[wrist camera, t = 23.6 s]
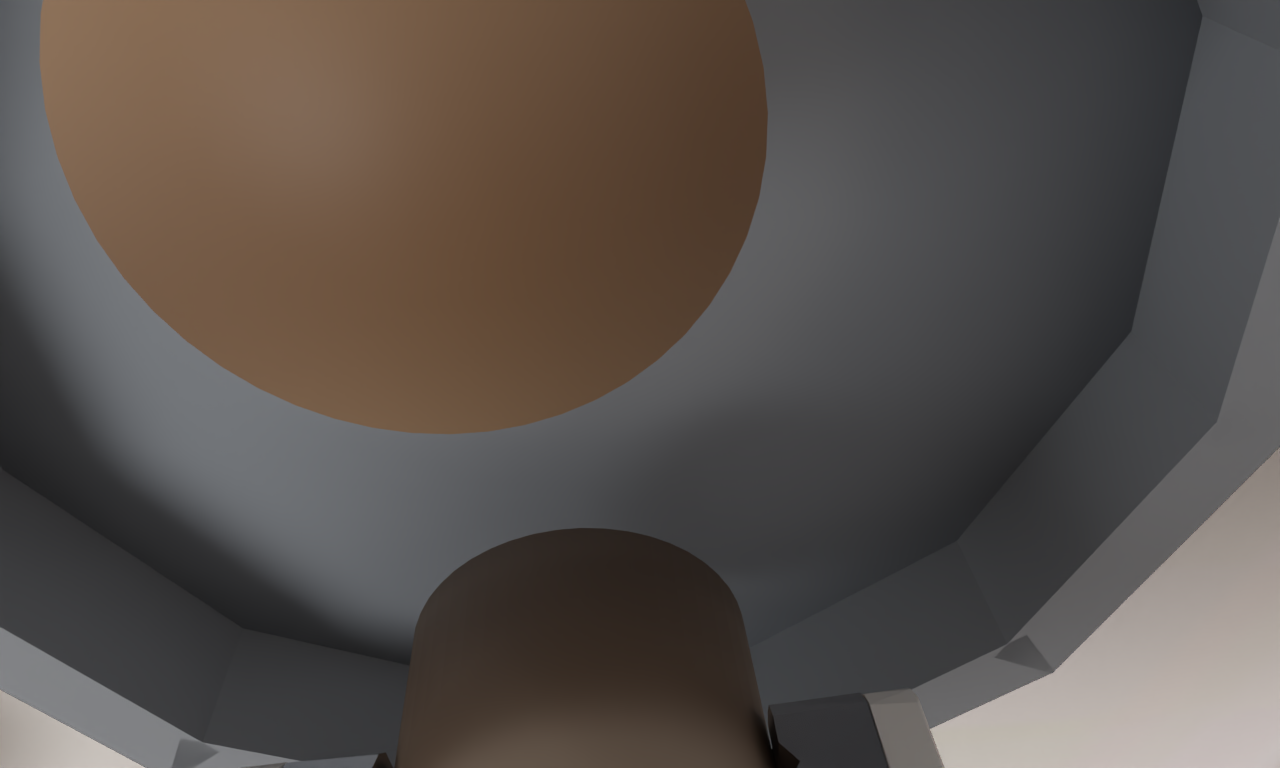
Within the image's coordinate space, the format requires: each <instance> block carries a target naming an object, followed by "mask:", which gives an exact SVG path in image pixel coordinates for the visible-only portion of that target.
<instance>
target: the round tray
mask: <svg viewBox="0 0 1280 768" xmlns="http://www.w3.org/2000/svg"><path fill="white" fill-rule="evenodd" d="M745 1H746V4H747V7H748V9H749V12H750V15H751V17H752V20H753V24H754V28H755V32H756V37H757V41H758V45H759V50H760V54H761V58H762V63H763V67H764V77H765V87H766V98H767V108H768V124H767V150H766V161H765V167H764V172H763V178H762V184H761V190H760V195H759V200H758V203H757V206H756V209H755V212H754V216H753V219H752V222H751V225H750V228H749V232H748V235H747V238H746V240H745V242H744V244H743V246H742V248H741V250H740V253H739V255H738V257H737V259H736V261H735V263H734V266H733V268H732V270H731V272H730V274H729V275H728V277H727V278H726V280H725V282H724V283H723V285H722V286H721V288H720V289H719V291H718V293H717V294H716V296H715V297H714V299H713V300H712V302H711V304H710V305H709V306H708V308H707V309H706V310H705V311H704V312H703V314H702V315H701V316H700V317H699V318H698V320H697V321H696V322H695V323H694V324H693V326H692V327H691V328H690V329H689V330H688V332H687V333H686V334H685V335H684V336H683V337H682V338H681V339H680V340H679V341H678V342H677V343H676V344H674V345H673V346H672V347H671V348H670V349H669V350H668V351H667V352H666V353H665V354H664V355H663V356H662V357H661V358H660V359H658V360H657V361H656V362H654V363H653V364H652V365H650V366H649V367H648V368H646V369H645V370H644V371H642V372H641V373H639V374H638V375H637V376H635V377H634V378H633V379H631V380H630V381H628V382H627V383H625V384H623V385H622V386H620V387H618V388H616V389H614V390H613V391H611V392H609V393H607V394H605V395H604V396H602V397H600V398H598V399H597V400H595V401H592V402H590V403H587V404H585V405H583V406H580V407H578V408H575V409H573V410H571V411H568V412H566V413H564V414H561V415H558V416H554V417H551V418H547V419H544V420H541V421H537V422H534V423H530V424H527V425H522V426H517V427H511V428H506V429H500V430H495V431H489V432H476V433H462V434H424V433H407V432H400V431H392V430H385V429H377V428H371V427H367V426H363V425H359V424H354V423H350V422H346V421H342V420H337V419H333V418H331V417H328V416H325V415H322V414H319V413H316V412H313V411H310V410H307V409H304V408H302V407H299V406H296V405H294V404H291V403H289V402H287V401H285V400H283V399H280V398H278V397H276V396H274V395H272V394H270V393H267V392H265V391H263V390H261V389H259V388H257V387H255V386H253V385H252V384H250V383H248V382H247V381H245V380H243V379H241V378H240V377H238V376H236V375H235V374H233V373H231V372H230V371H228V370H226V369H224V368H223V367H221V366H220V365H218V364H217V363H216V362H214V361H213V360H211V359H210V358H209V357H207V356H206V355H205V354H203V353H202V352H201V351H199V350H198V349H196V348H195V347H194V346H192V345H191V344H190V343H188V342H187V341H186V340H185V339H183V338H182V337H181V336H180V335H179V334H178V333H177V332H176V331H175V330H173V329H172V328H171V327H170V326H169V325H168V324H167V323H166V322H165V321H164V320H162V319H161V318H160V317H159V316H158V315H157V314H156V313H155V312H154V311H153V310H152V309H151V308H150V307H149V306H148V305H147V304H146V302H145V301H144V300H143V299H142V298H141V297H140V296H139V295H138V293H137V292H136V291H135V290H134V289H133V288H132V287H131V286H130V285H129V283H128V282H127V281H126V280H125V279H124V278H123V276H122V275H121V274H120V272H119V271H118V269H117V268H116V267H115V265H114V264H113V262H112V261H111V260H110V258H109V257H108V255H107V254H106V253H105V251H104V250H103V248H102V247H101V245H100V244H99V243H98V241H97V240H96V238H95V236H94V234H93V232H92V231H91V229H90V227H89V225H88V223H87V221H86V220H85V218H84V216H83V214H82V212H81V211H80V209H79V207H78V205H77V203H76V201H75V200H74V197H73V195H72V192H71V190H70V187H69V185H68V182H67V180H66V177H65V175H64V172H63V170H62V167H61V165H60V162H59V160H58V157H57V154H56V150H55V146H54V142H53V138H52V135H51V131H50V127H49V123H48V119H47V115H46V111H45V105H44V96H43V88H42V79H41V71H40V62H39V60H40V22H41V9H42V3H43V0H0V690H2V691H4V692H5V693H7V694H9V695H11V696H13V697H15V698H17V699H19V700H20V701H22V702H24V703H26V704H28V705H30V706H32V707H33V708H35V709H37V710H39V711H41V712H43V713H45V714H47V715H48V716H50V717H52V718H54V719H56V720H58V721H60V722H61V723H63V724H65V725H67V726H69V727H71V728H73V729H75V730H76V731H78V732H80V733H82V734H84V735H86V736H88V737H90V738H91V739H93V740H95V741H97V742H99V743H101V744H103V745H104V746H106V747H108V748H110V749H112V750H114V751H116V752H118V753H119V754H121V755H123V756H125V757H127V758H129V759H131V760H132V761H134V762H136V763H138V764H140V765H142V766H144V767H146V768H243V767H251V766H259V765H267V764H276V763H284V762H298V761H308V760H317V759H327V758H337V757H346V756H356V755H365V754H375V753H384V752H386V754H387V756H388V758H389V760H390V762H391V764H392V766H393V768H394V766H395V760H396V753H397V746H398V740H399V733H400V726H401V720H402V713H403V706H404V700H405V693H406V686H407V680H408V673H409V666H410V660H411V653H412V646H413V640H414V633H415V627H416V624H417V621H418V619H419V616H420V613H421V611H422V609H423V607H424V606H425V604H426V602H427V600H428V599H429V597H430V596H431V595H432V593H433V592H434V591H435V590H436V588H437V587H438V586H439V585H440V584H441V583H442V582H443V581H444V580H445V579H446V578H447V577H448V576H449V575H450V574H451V573H452V572H454V571H455V570H456V569H458V568H459V567H460V566H462V565H463V564H465V563H466V562H467V561H469V560H470V559H472V558H474V557H476V556H478V555H479V554H481V553H483V552H485V551H487V550H489V549H491V548H493V547H496V546H498V545H501V544H503V543H506V542H508V541H511V540H514V539H518V538H521V537H525V536H528V535H532V534H536V533H542V532H548V531H553V530H561V529H574V528H605V529H614V530H622V531H629V532H634V533H638V534H642V535H647V536H651V537H654V538H657V539H659V540H662V541H665V542H668V543H671V544H673V545H675V546H677V547H679V548H681V549H683V550H685V551H688V552H689V553H691V554H692V555H694V556H695V557H697V558H699V559H700V560H702V561H703V562H705V563H706V564H707V565H708V566H709V567H710V568H712V569H713V570H714V571H715V572H716V573H717V574H718V575H719V576H720V577H721V578H722V579H723V581H724V582H725V583H726V584H727V585H728V587H729V588H730V590H731V591H732V593H733V595H734V597H735V598H736V600H737V602H738V605H739V608H740V611H741V613H742V617H743V621H744V626H745V630H746V635H747V640H748V644H749V649H750V653H751V658H752V662H753V667H754V671H755V676H756V681H757V685H758V690H759V694H760V699H761V703H762V708H763V712H764V717H765V721H766V726H767V731H768V735H769V740H770V744H771V739H770V734H769V729H768V707H769V705H773V704H780V703H788V702H795V701H802V700H810V699H817V698H824V697H832V696H839V695H846V694H854V693H860V694H867V693H874V692H881V691H888V690H895V689H902V688H910V689H911V690H912V691H913V692H914V693H915V694H916V696H917V697H918V698H919V701H920V704H921V706H922V709H923V712H924V715H925V717H926V720H927V723H928V725H929V728H930V729H931V728H933V727H935V726H937V725H939V724H941V723H944V722H946V721H948V720H950V719H952V718H955V717H957V716H959V715H961V714H963V713H965V712H968V711H970V710H972V709H974V708H976V707H979V706H981V705H983V704H985V703H987V702H989V701H992V700H994V699H996V698H998V697H1000V696H1003V695H1005V694H1007V693H1009V692H1011V691H1014V690H1016V689H1018V688H1020V687H1022V686H1024V685H1027V684H1029V683H1031V682H1033V681H1035V680H1038V679H1040V678H1042V677H1044V676H1046V675H1048V674H1051V673H1053V672H1054V671H1055V670H1056V669H1057V668H1058V667H1059V666H1060V665H1061V664H1062V663H1063V662H1064V661H1065V660H1066V659H1067V658H1068V657H1069V656H1070V655H1071V654H1072V653H1073V652H1074V651H1075V650H1076V649H1077V648H1078V647H1079V646H1080V645H1081V644H1082V643H1083V642H1084V641H1085V640H1086V639H1087V638H1088V637H1089V636H1090V635H1091V634H1092V633H1093V632H1094V631H1095V630H1096V629H1097V628H1098V627H1099V626H1100V625H1101V624H1102V623H1103V622H1104V621H1105V620H1106V619H1107V618H1108V617H1109V616H1110V615H1111V614H1112V613H1113V612H1114V611H1115V610H1116V609H1117V608H1118V607H1119V606H1120V605H1121V604H1122V603H1123V602H1124V601H1125V600H1126V599H1127V598H1128V597H1129V596H1130V595H1131V594H1132V593H1133V592H1134V591H1135V590H1136V589H1137V588H1138V587H1139V586H1140V585H1141V584H1142V583H1143V582H1144V581H1145V580H1146V579H1147V578H1148V577H1149V576H1150V575H1151V574H1152V573H1153V572H1154V571H1155V570H1156V569H1157V568H1158V567H1159V566H1160V565H1161V564H1162V563H1163V562H1164V561H1165V560H1166V559H1167V558H1168V557H1169V556H1171V555H1172V554H1173V553H1174V552H1175V551H1176V550H1177V549H1178V548H1179V547H1180V546H1181V545H1182V544H1183V543H1184V542H1185V541H1186V540H1187V539H1188V538H1189V537H1190V536H1191V535H1192V534H1193V533H1194V532H1195V531H1196V530H1197V529H1198V528H1199V527H1200V526H1201V525H1202V524H1203V523H1204V522H1205V521H1206V520H1207V519H1208V518H1209V517H1210V516H1211V515H1212V514H1213V513H1214V512H1215V511H1216V510H1217V509H1218V508H1219V507H1220V506H1221V505H1222V504H1223V503H1224V502H1225V501H1226V500H1227V499H1228V498H1229V497H1230V496H1231V495H1232V494H1233V493H1234V492H1235V491H1236V490H1237V489H1238V488H1239V487H1240V486H1241V485H1242V484H1243V483H1244V482H1245V481H1246V480H1247V479H1248V478H1249V477H1250V476H1251V475H1252V474H1253V473H1254V472H1255V471H1256V470H1257V469H1258V468H1259V467H1260V466H1261V465H1262V464H1263V463H1264V462H1265V461H1266V460H1267V459H1268V458H1269V457H1270V456H1271V455H1272V454H1273V453H1274V452H1275V451H1276V450H1277V449H1278V448H1279V447H1280V0H745ZM771 749H772V744H771Z"/></svg>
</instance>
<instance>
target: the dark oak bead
mask: <svg viewBox="0 0 1280 768" xmlns="http://www.w3.org/2000/svg"><path fill="white" fill-rule="evenodd" d="M394 768H776V767H775V762H774V758H773V753H772V749H771V744H770V740H769V735H768V731H767V726H766V721H765V717H764V712H763V708H762V703H761V699H760V694H759V690H758V685H757V681H756V676H755V671H754V667H753V662H752V658H751V653H750V649H749V644H748V640H747V635H746V630H745V626H744V621H743V617H742V613H741V611H740V608H739V605H738V602H737V600H736V598H735V597H734V595H733V593H732V591H731V590H730V588H729V587H728V585H727V584H726V583H725V582H724V581H723V579H722V578H721V577H720V576H719V575H718V574H717V573H716V572H715V571H714V570H713V569H712V568H710V567H709V566H708V565H707V564H706V563H705V562H703V561H702V560H700V559H699V558H697V557H695V556H694V555H692V554H691V553H689V552H688V551H685V550H683V549H681V548H679V547H677V546H675V545H673V544H671V543H668V542H665V541H662V540H659V539H657V538H654V537H651V536H647V535H642V534H638V533H634V532H629V531H622V530H614V529H605V528H574V529H561V530H553V531H548V532H542V533H536V534H532V535H528V536H525V537H521V538H518V539H514V540H511V541H508V542H506V543H503V544H501V545H498V546H496V547H493V548H491V549H489V550H487V551H485V552H483V553H481V554H479V555H478V556H476V557H474V558H472V559H470V560H469V561H467V562H466V563H465V564H463V565H462V566H460V567H459V568H458V569H456V570H455V571H454V572H452V573H451V574H450V575H449V576H448V577H447V578H446V579H445V580H444V581H443V582H442V583H441V584H440V585H439V586H438V587H437V588H436V590H435V591H434V592H433V593H432V595H431V596H430V597H429V599H428V600H427V602H426V604H425V606H424V607H423V609H422V611H421V613H420V616H419V619H418V621H417V624H416V627H415V633H414V640H413V646H412V653H411V660H410V666H409V673H408V680H407V686H406V693H405V700H404V706H403V713H402V720H401V726H400V733H399V740H398V746H397V753H396V760H395V766H394Z"/></svg>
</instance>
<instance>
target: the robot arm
mask: <svg viewBox="0 0 1280 768" xmlns="http://www.w3.org/2000/svg"><path fill="white" fill-rule="evenodd" d="M768 729H769V734H770V739H771V744H772V753H773V758H774V762H775V767H776V768H944V765H943V763H942V760H941V757H940V755H939V752H938V749H937V747H936V744H935V741H934V739H933V736H932V733H931V731H930V728H929V725H928V723H927V720H926V717H925V715H924V712H923V709H922V706H921V704H920V701H919V698H918V697H917V696H916V694H915V693H914V692H913V691H912V690H911V689H910V688H902V689H895V690H888V691H881V692H874V693H867V694H860V693H854V694H846V695H839V696H832V697H824V698H817V699H810V700H802V701H795V702H788V703H780V704H773V705H769V707H768ZM243 768H393V766H392V764H391V762H390V760H389V758H388V756H387V754H386V752H384V753H375V754H365V755H356V756H346V757H337V758H327V759H317V760H308V761H298V762H284V763H276V764H267V765H259V766H251V767H243Z"/></svg>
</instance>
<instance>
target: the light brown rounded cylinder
mask: <svg viewBox="0 0 1280 768" xmlns="http://www.w3.org/2000/svg"><path fill="white" fill-rule="evenodd" d="M39 62H40V71H41V79H42V88H43V96H44V105H45V111H46V115H47V119H48V123H49V127H50V131H51V135H52V138H53V142H54V146H55V150H56V154H57V157H58V160H59V162H60V165H61V167H62V170H63V172H64V175H65V177H66V180H67V182H68V185H69V187H70V190H71V192H72V195H73V197H74V200H75V201H76V203H77V205H78V207H79V209H80V211H81V212H82V214H83V216H84V218H85V220H86V221H87V223H88V225H89V227H90V229H91V231H92V232H93V234H94V236H95V238H96V240H97V241H98V243H99V244H100V245H101V247H102V248H103V250H104V251H105V253H106V254H107V255H108V257H109V258H110V260H111V261H112V262H113V264H114V265H115V267H116V268H117V269H118V271H119V272H120V274H121V275H122V276H123V278H124V279H125V280H126V281H127V282H128V283H129V285H130V286H131V287H132V288H133V289H134V290H135V291H136V292H137V293H138V295H139V296H140V297H141V298H142V299H143V300H144V301H145V302H146V304H147V305H148V306H149V307H150V308H151V309H152V310H153V311H154V312H155V313H156V314H157V315H158V316H159V317H160V318H161V319H162V320H164V321H165V322H166V323H167V324H168V325H169V326H170V327H171V328H172V329H173V330H175V331H176V332H177V333H178V334H179V335H180V336H181V337H182V338H183V339H185V340H186V341H187V342H188V343H190V344H191V345H192V346H194V347H195V348H196V349H198V350H199V351H201V352H202V353H203V354H205V355H206V356H207V357H209V358H210V359H211V360H213V361H214V362H216V363H217V364H218V365H220V366H221V367H223V368H224V369H226V370H228V371H230V372H231V373H233V374H235V375H236V376H238V377H240V378H241V379H243V380H245V381H247V382H248V383H250V384H252V385H253V386H255V387H257V388H259V389H261V390H263V391H265V392H267V393H270V394H272V395H274V396H276V397H278V398H280V399H283V400H285V401H287V402H289V403H291V404H294V405H296V406H299V407H302V408H304V409H307V410H310V411H313V412H316V413H319V414H322V415H325V416H328V417H331V418H333V419H337V420H342V421H346V422H350V423H354V424H359V425H363V426H367V427H371V428H377V429H385V430H392V431H400V432H407V433H424V434H462V433H476V432H489V431H495V430H500V429H506V428H511V427H517V426H522V425H527V424H530V423H534V422H537V421H541V420H544V419H547V418H551V417H554V416H558V415H561V414H564V413H566V412H568V411H571V410H573V409H575V408H578V407H580V406H583V405H585V404H587V403H590V402H592V401H595V400H597V399H598V398H600V397H602V396H604V395H605V394H607V393H609V392H611V391H613V390H614V389H616V388H618V387H620V386H622V385H623V384H625V383H627V382H628V381H630V380H631V379H633V378H634V377H635V376H637V375H638V374H639V373H641V372H642V371H644V370H645V369H646V368H648V367H649V366H650V365H652V364H653V363H654V362H656V361H657V360H658V359H660V358H661V357H662V356H663V355H664V354H665V353H666V352H667V351H668V350H669V349H670V348H671V347H672V346H673V345H674V344H676V343H677V342H678V341H679V340H680V339H681V338H682V337H683V336H684V335H685V334H686V333H687V332H688V330H689V329H690V328H691V327H692V326H693V324H694V323H695V322H696V321H697V320H698V318H699V317H700V316H701V315H702V314H703V312H704V311H705V310H706V309H707V308H708V306H709V305H710V304H711V302H712V300H713V299H714V297H715V296H716V294H717V293H718V291H719V289H720V288H721V286H722V285H723V283H724V282H725V280H726V278H727V277H728V275H729V274H730V272H731V270H732V268H733V266H734V263H735V261H736V259H737V257H738V255H739V253H740V250H741V248H742V246H743V244H744V242H745V240H746V238H747V235H748V232H749V228H750V225H751V222H752V219H753V216H754V212H755V209H756V206H757V203H758V200H759V195H760V190H761V184H762V178H763V172H764V167H765V161H766V150H767V124H768V108H767V98H766V87H765V77H764V67H763V63H762V58H761V54H760V50H759V45H758V41H757V37H756V32H755V28H754V24H753V20H752V17H751V15H750V12H749V9H748V7H747V4H746V1H745V0H43V3H42V9H41V22H40V60H39Z"/></svg>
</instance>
